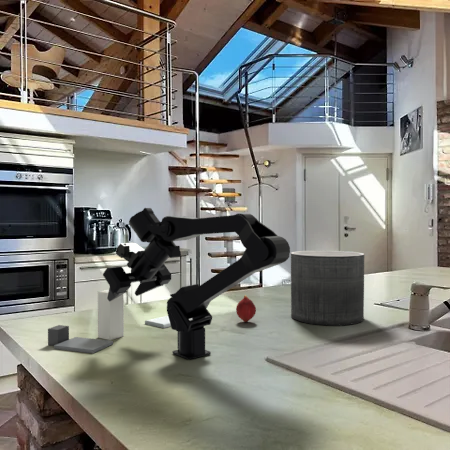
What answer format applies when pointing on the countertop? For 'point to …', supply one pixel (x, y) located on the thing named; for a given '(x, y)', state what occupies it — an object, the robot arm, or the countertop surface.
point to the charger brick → (110, 316)
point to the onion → (246, 309)
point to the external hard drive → (160, 322)
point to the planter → (327, 287)
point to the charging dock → (74, 341)
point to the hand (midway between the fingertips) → (122, 297)
